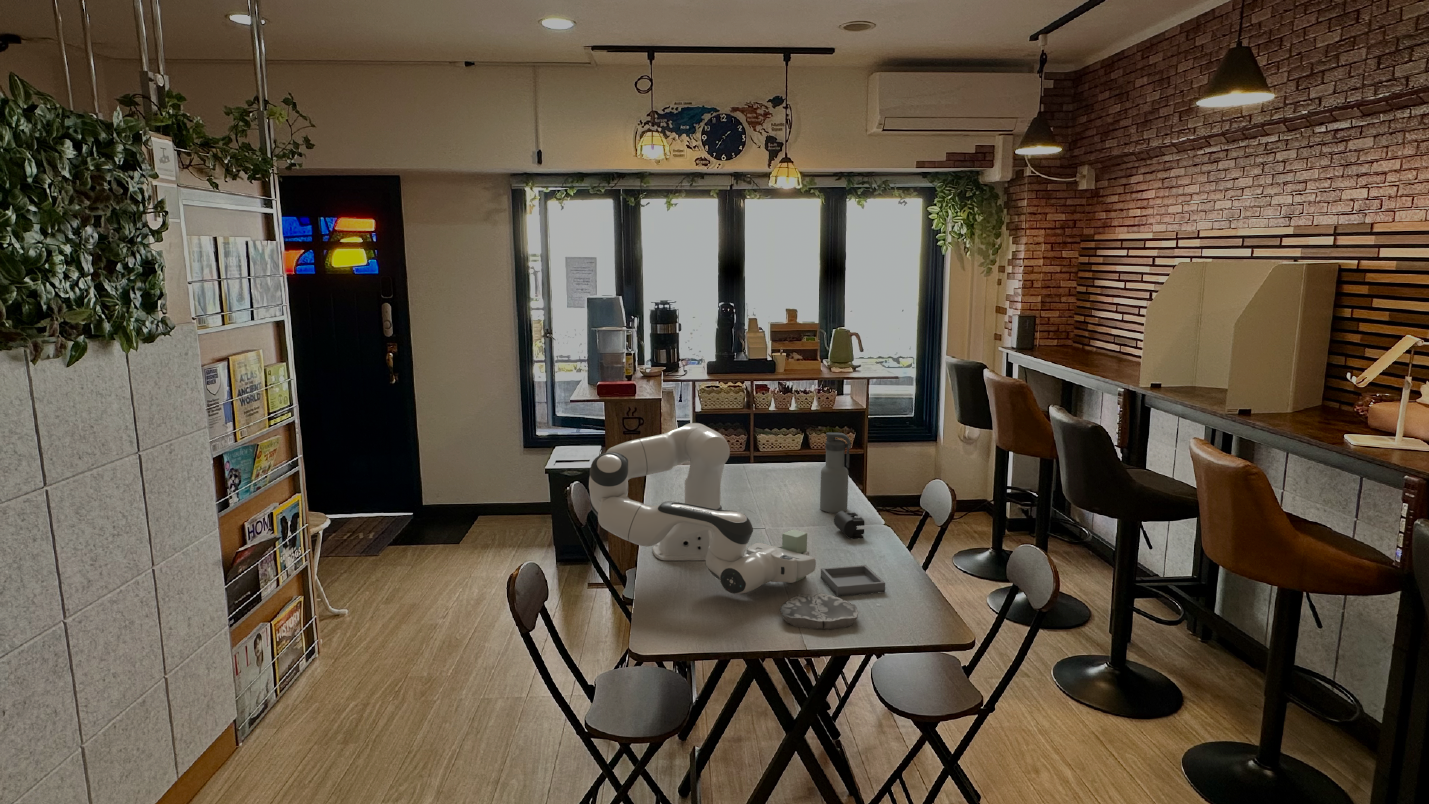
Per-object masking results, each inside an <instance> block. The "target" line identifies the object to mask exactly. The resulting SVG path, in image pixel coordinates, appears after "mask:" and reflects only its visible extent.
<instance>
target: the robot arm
mask: <svg viewBox="0 0 1429 804" xmlns="http://www.w3.org/2000/svg"><path fill="white" fill-rule="evenodd" d="M730 454H731V449H730V445H729V443H728V441H727V440H726V438H725V437H724V435H723V434H721V433H720V432H718V431H716V430H714V429H713V428H710V427H708V426H706V425H704V424H702V423H699V422H690V423H686V424H685V425H683V426H681V427H677V428H675V429H673V430H670V431H668V432H665V433H661V434H656V435H653V436H647V437H641V438H636V439H632V440H629V441H628V440H627V441H625V442H622V443H619V444H616V445H614V446H612V447H609V448H608V449H607V450H606V452H603V453H601V454H599V455H598V456H596V457H595V458H594V459H593V460H592V462H591V465H590V468H589V477H588V489H589V499H590V500H589V503H590V504H589V505H590V506H591V507H590V508H591V510H592V512H593V513H594V514H595V516H596V517H597V520H598V521H597V522H598V524H599V526H601V528H603V529H604V530H606V531H607V532H608V533H611V534H612V535H615V536H616V537H617V538H618V537H619V538H620V539H622V540H625V541H628V542H629V543H632V544H634V545H638V546H641V547H645V548H647V547H652V553H653V555H654V557H656V558H657V559H658V560H661V561H704V564H705V566H706V569H707V570H708V571H709V572H710V574H712V576H714V578H716V579H717V580H719V582H720V584H721V587H723V589H724V590H725V591H726V592H728V593H730V594H733V595H742V594H747V593H749V592H752V591H754V590H756V589H758V588H760V587H761V586H762V585H766V584H768V583H770V582H771V583H779V582H780V583H790V584H792V583H796V582H795V581H796V578H802V577H804V576H806V577H807V576H808V575H810V574H812V573H813V572H815V570H816V564H817V562H816V557H814V556H812V555H810V551H808V550H807V551H803V552H801V554H800V553H797V552H793V551H789V550H785V549H782V544H781V545H776V546H775V545H769V544H766V543H763V542H756V543H753V544H751V545H749V546H748V543H749V542H750V539H751V537H752V534H753V532H754V527H753V524H752V523H751V520H750V519H749V517H748V516H747V515H746V514H745V513H743V512H740V511H736V510H728V509H725V510H724V509H723V507H722V505H721V499H722V498H721V497H722V496H721V494H722V493H721V487H722V485H721V484H722V477H723V473H724V468H725V464H726V463H727V461H728V459H729V458H730ZM687 462H689V469H688V473H687V477H686V478H685V480H684V502H680V501H663V502H661V504H658V505H650V504H649V505H648V504H646V503H643V502H640V501H638V500H637V501H636V500H633V499H631V498H630V497H629V495H628V493H629V482H628V481H629V480H630V479H633V478H639V477H645V476H648V475H650V476H651V475H654V474H658V473H664V472H668V471H671V470H673V469H674V467H678V466H680V465H682V464H684V463H687Z"/></svg>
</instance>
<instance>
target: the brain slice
mask: <svg viewBox="0 0 1429 804" xmlns="http://www.w3.org/2000/svg"><path fill="white" fill-rule="evenodd" d="M779 612H780V613H781V617H782V619H784V620H785V621H786V623H789V625H790V626H793V627H795V628H796V627H797V628H804V629H805V628H806V629H811V630H812V629H813V630H822V629H824V630H834V629H841V628H847V627H850V626H852V625H853V623H856V621H857V619H858V617H859V611H858V608H857V606H856V604H854V603H851V602H850V601H847V600H846V599H842V598H841V597H839V596H838V597H837V596H834V595H831V594H826V593H816V594H814V595H812V594H807V593H806V594H804V593H800V594H797V595H796V596H792V597H790V598H789V599H788V600H787V601H785V602H784V603H783V604H782V605H780V608H779Z"/></svg>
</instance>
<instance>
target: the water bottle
mask: <svg viewBox="0 0 1429 804" xmlns="http://www.w3.org/2000/svg"><path fill="white" fill-rule="evenodd" d="M825 437H826V441H825V447H824V448H825V449H824V450H825V466H823V467H822V468H821V470H820V489H819V490H820V492H819V493H820V494H819V508H820V510H821V511H823V512H826V513H830V514H837V513H838V512H840V511H844V512H846V511H847V510H848V503H849V502H848V499H849V493H848V491H849V470H848V468H850V449H851V448H852V444H851V440H850V438H849V437H848V435H846V434H845V433H843V432H830V431H829V432H826V433H825ZM836 438H837V439H836ZM842 439H843V440H842ZM845 451H846V458H845ZM845 459H846V462H845ZM845 463H846V467H845Z"/></svg>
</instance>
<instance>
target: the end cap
mask: <svg viewBox="0 0 1429 804" xmlns="http://www.w3.org/2000/svg"><path fill="white" fill-rule="evenodd" d="M858 516H859V515H858V514H857V513H856V512H846V511H840V512H838V513H835V515H834V518H833V524H834V525H835V527H836V528H837V529H839V530H840V531H841V532H842V534H844V535H845V536H846V537H847V538H849V539H850V540H858V538H860V539H864V535H865V528H863V529H862V528H861V529H860V528H859V529H858V527H861V526H862V527H864V526H865V522H866V521H865V519H864V518H863V517H858Z"/></svg>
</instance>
